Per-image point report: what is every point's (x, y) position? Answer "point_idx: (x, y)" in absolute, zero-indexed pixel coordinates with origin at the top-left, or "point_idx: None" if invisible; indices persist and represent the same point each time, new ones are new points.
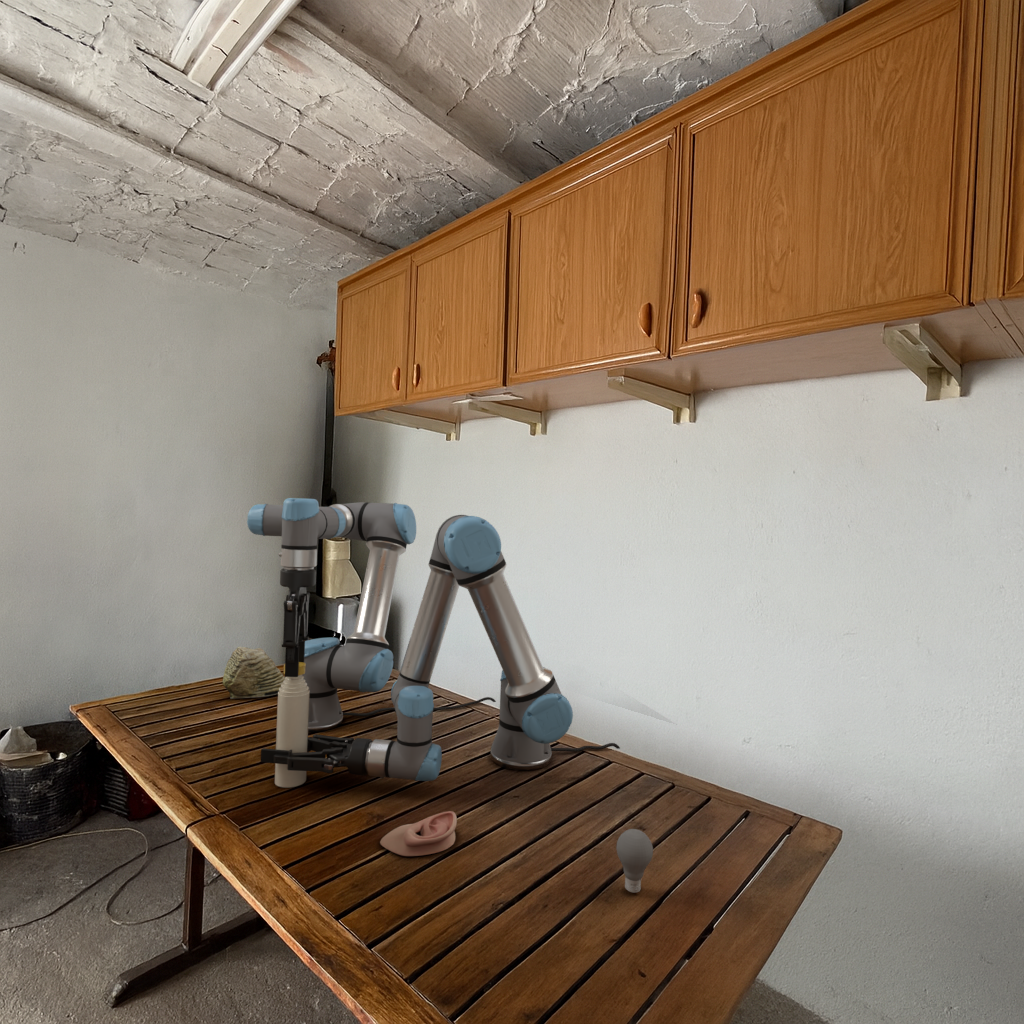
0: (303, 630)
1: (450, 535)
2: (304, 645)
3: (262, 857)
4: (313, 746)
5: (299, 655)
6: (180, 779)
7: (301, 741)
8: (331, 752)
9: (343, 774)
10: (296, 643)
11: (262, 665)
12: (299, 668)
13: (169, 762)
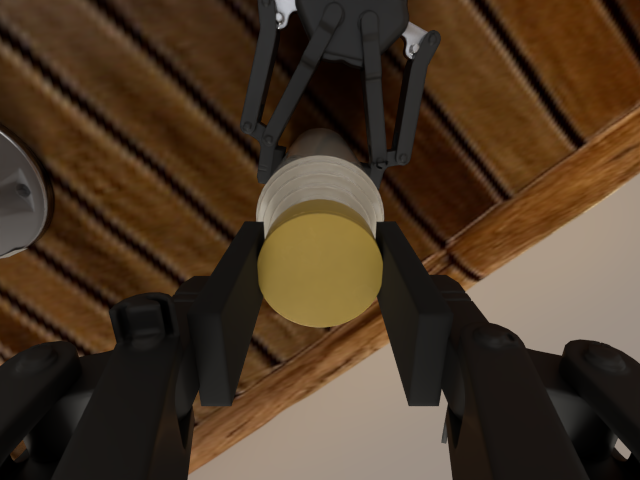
0: (163, 418)
1: None
2: (214, 292)
3: (613, 134)
4: (287, 122)
5: (248, 283)
6: (315, 346)
7: (348, 147)
8: (379, 48)
9: (283, 42)
10: (591, 352)
11: None
12: (370, 232)
13: (250, 382)
